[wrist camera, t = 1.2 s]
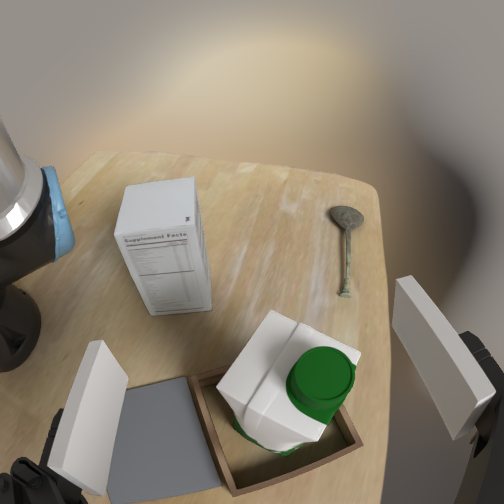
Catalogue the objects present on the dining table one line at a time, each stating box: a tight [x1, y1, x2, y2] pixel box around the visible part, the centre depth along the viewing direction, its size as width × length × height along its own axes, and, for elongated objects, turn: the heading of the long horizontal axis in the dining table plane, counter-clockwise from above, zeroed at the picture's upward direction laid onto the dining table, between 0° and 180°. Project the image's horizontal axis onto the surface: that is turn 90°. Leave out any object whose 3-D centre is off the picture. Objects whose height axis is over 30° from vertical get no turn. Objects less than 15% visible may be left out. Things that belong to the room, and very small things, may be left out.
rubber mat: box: [107, 376, 223, 504], centre depth 31 cm, size 15×14×1 cm
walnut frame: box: [191, 365, 363, 497], centre depth 33 cm, size 15×15×3 cm
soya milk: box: [216, 310, 361, 457], centre depth 27 cm, size 9×9×20 cm
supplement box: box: [114, 177, 212, 316], centre depth 41 cm, size 10×9×17 cm
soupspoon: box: [330, 206, 364, 298], centre depth 53 cm, size 22×3×7 cm
